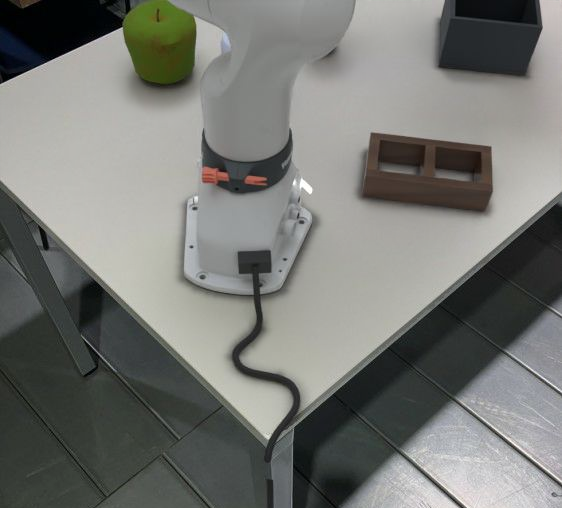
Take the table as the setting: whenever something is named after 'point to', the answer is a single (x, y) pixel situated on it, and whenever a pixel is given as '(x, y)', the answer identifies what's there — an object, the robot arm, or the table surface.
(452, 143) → the brown wooden caddy
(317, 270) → the table surface
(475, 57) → the open square box
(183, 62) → the apple
